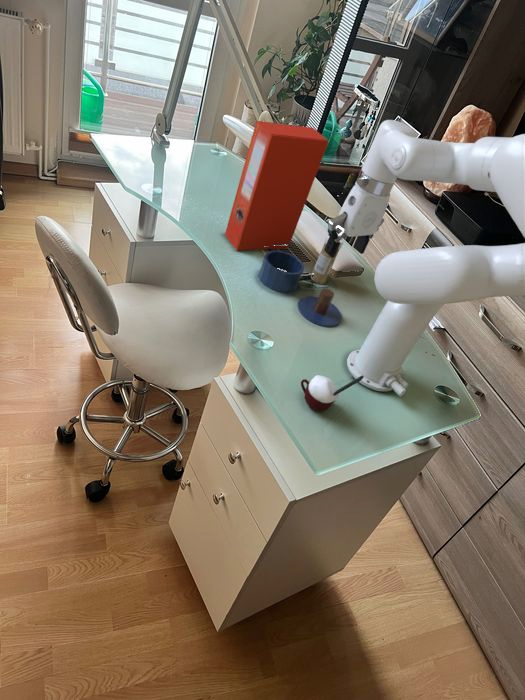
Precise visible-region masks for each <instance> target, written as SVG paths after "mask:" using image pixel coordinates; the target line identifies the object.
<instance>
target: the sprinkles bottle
mask: <svg viewBox="0 0 525 700" xmlns="http://www.w3.org/2000/svg"><path fill="white" fill-rule="evenodd" d="M329 237H330V236H328V234H327V235H326V237H325V238H324V239H325V240H324V244H323V246H322V248H321V251H320V252H319V255H318V257H317V260H316V262H315V265H314V268H313V270H312V272H313V273H314V276H313V277H312V274H310V279H311V280H312V281H313V282H315V283H317V284H320V285H322V284H325V283H327V279H328V277H329V275H330V273H331V271H332V269H333V266H334V264H335V261H336V258H337V256H338V254H339V252H340V250H341V248H342V247H343V245H344V238H342V239H341V240H340V241H339V242H340V246H339V248H338V250H337V253H336V255H335V257H333V258H332V257H330V256H329V255H328V254H327V253H326V252H325V251H324V249H325V246H326V244H327V241H328V239H329Z"/></svg>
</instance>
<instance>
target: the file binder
mask: <svg viewBox="0 0 525 700" xmlns="http://www.w3.org/2000/svg"><path fill="white" fill-rule="evenodd" d="M328 145H329V140H328V138H326V137H325V136H323V134H321V133H320V132H319V131H318V130H316V129H315V128H314V127H312V126H311V127H310V126H302V125H295V124H285V123H278V122H271V121H262V120H256V121H255V124H254V129H253V132H252V136H251V139H250V142H249V146H248V150H247V154H246V156H245V161H244V164H243V168H242V172H241V175H240V178H239V181H238V186H237V190H236V193H235V196H234V199H233V200H234V201H233V204H232V207H231V211H230V214H229V217H228V222H227V226H226V229H225V232H224V235H225V237H226V239H227V240H228V241H229V243H230V244H231V245H232V246H233V248H234V249H235V251H256V250H258V251H259V250H281V249H282V250H283V249H289V246H290V245H289V246H272V245H282V244H289V243H290V244H291V242H292V239H293V236H294V234H295V232H296V228H297V226H298V224H299V221H300V218H301V216H302V213H303V211H304V209H305V206H306V202H307V199H308V197H309V195H310V193H311V189H312V186H313V183H314V181H315V179H316V176H317V174H318V171H319V169H320V165H321V163H322V160H323V157H324V156H325V152H326V150H327V147H328ZM264 246H269V247H264Z"/></svg>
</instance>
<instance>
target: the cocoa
mask: <svg viewBox="0 0 525 700" xmlns="http://www.w3.org/2000/svg"><path fill="white" fill-rule="evenodd" d="M363 378H364V376H360V377H358V378H357V379H355V378H354V380H352V381H350V382H348V383H347V384H344V385H343V386H341V387H340V388H337V387H336V386H335V383H334V382H333V381H332V380H331V378H329V377H327V376H325V375H324V376H323V375H321V374H320V375H319V374H316V375H314V377H312V379H311V380H308V379H306V378H305V379H302V380H301V382H300V386H301V389H302V391H303V394H304V401H305V403H306V404H307V406H308V407H309V408H311V409H313V410H314V411H319V412H321V411H327V410H328V409H329V408H331V407H332V405H333V404H334V403H335V402H336V400H338V398H339V396H340V393H342V392H343V391H345V390H347V389H349V388H350V387H353V386H355V385H356V384H357V383H359V381H361V380H362V379H363ZM304 383H306V387H305V384H304Z"/></svg>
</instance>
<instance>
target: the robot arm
mask: <svg viewBox="0 0 525 700" xmlns="http://www.w3.org/2000/svg"><path fill="white" fill-rule="evenodd" d="M397 179H400V180H403V181H418V182H430V183H445V184H454V185H465V186H468V187H469V188H470V189H472V190H475V191H482V192H483V191H484V192H490V193H491V192H492V193H496V194H497V196H498V198H499V199H500V201H501V203H502V204H503V207H505V209H506V211H507V213H508V214H509V215H510V217H511V219H512V220H513V222H514V223H515V225H516V226H517V228H518V230H519V231H520V233H521V235H522V237H523V238H525V133H522V134H518V135H515V136H513V137H505V136H484V137H481V138H479V139H477V140H476V141H475V142H453V141H452V142H450V141H441V140H435V139H429V138H428V139H427V138H422V137H421V138H420V137H417V136H416V132H415V130H414V129H413V128H412V127H410V126H409V125H408V124H405V123H403V122H400V121H398V120H394V119H386V120H383V121H382V122H381V123H380V125H379V126H378V129H377V131H376V134H375V136H374V139H373V140H372V144H371V146H370V148H369V150H368V152H367V155H366V157H365V159H364V162H363V164H362V166H361V169H360V171H359V174H358V176H357V179H356V180H355V183H354V185H353V186H352V188H351V189H350V191H349V193H348V195H347V197H346V198H345V200H344V202H343V204H342V207H341V208H340V209H339V213H338V215H337V216H335V217H334V218H332V219H330V220H328V222H327V233H328V234H327V235H328V236H330V237H329V239H328V241H327V244H326V246H325V249H324V251H325V252H326V253H327V254H328V255H329V256H330V257H332V258H333V257H335V255H336V253H337V250H338V248H339V246H340V242H339V241H340V240H341V239H344V237H346V236H347V237H349V238H354V237H355V238H356V239H355V241H354V243H353V246H352V247H353V249H354V250H355V251H357V252H358V253H359V254H361V255H362V254H364V253H365V251H366V249H367V248H368V245H369V242H370V240H371V239H373V237H374V234H376V233H377V232H378V231H379V228H380V227H381V226H382V225H383V224H384V222H385V219H384V215H385V213H386V210H387V208H388V206H389V201H390V198H391V192H392V189H393V188H394V185H395V182H396V181H397ZM339 231H340V233H339V234H338V232H339ZM373 279H374V285H375V288H376V290H377V292H378V294H379V295H380V296H381V297H382V298H383V299H384V300H386V303H385V304H384V306H383V308H382V309H381V311H380V313H379V315H378V317H377V319H376V321H374V324H373V326H372V328H371V329H370V331H369V333H368V334H367V336H366V338H365V340H364V342H363V343H362V345H361V347H360V348H359V349H354V350H352V351H351V352H350V353H349V354H348V356H347V359H346V366H347V368H348V370H349V372H350V374H351V375H352V378H354V380H355V379H357V378H358V377H360V376H364V378H363V379H362V380H361V381H359V382H358V383H359V384H361V386H364V387H366V388H368V389H370V390H373V391H375V392H391V391H394V392H395V394H397V395H398V396H399V397H402V396H403V395H404V394H405V393H406V392H407V390H406V388H407V387H408V386H409V383H408V382H407V381H406V380H405V379H403V377H402V374H403V372H404V371H405V370H404V368H403V367H402V366H403V364H404V362H405V361H406V360H407V358H408V356H409V355H410V354H411V352H412V350H413V349H414V347H415V346H416V344H417V343H418V341H419V340H420V338H421V337H422V335H423V333H424V332H425V330H426V329H427V328H428V326H429V325H430V323H431V321H432V320H433V319H434V317H435V316H436V315H437V314H438V313H439V311H440V310H441V309H442V308H443V307H444V305H447V304H449V305H450V304H458V303H466V302H472V301H474V302H475V301H478V300H484V299H489V298H501V297H525V242H523V243H516V244H507V245H477V244H470V245H469V244H467V245H445V246H436V247H435V246H434V247H427V248H419V249H417V248H416V249H409V250H399V251H394V252H392V253H389V254H387V255H386V256H384V257H383V258H382V259H381V261H379V263H378V264H377V266H376V268H375V271H374V277H373Z"/></svg>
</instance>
